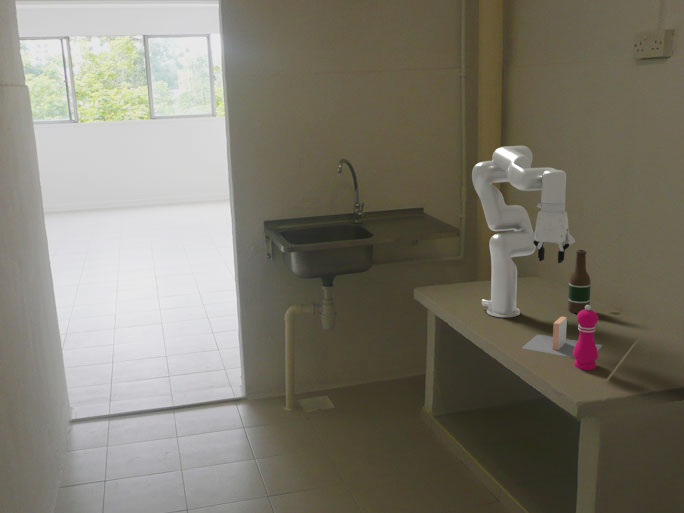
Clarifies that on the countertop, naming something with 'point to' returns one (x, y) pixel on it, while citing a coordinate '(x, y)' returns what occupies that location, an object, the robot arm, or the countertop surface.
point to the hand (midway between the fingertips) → (550, 260)
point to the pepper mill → (586, 340)
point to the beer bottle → (579, 285)
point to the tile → (559, 333)
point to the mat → (546, 346)
